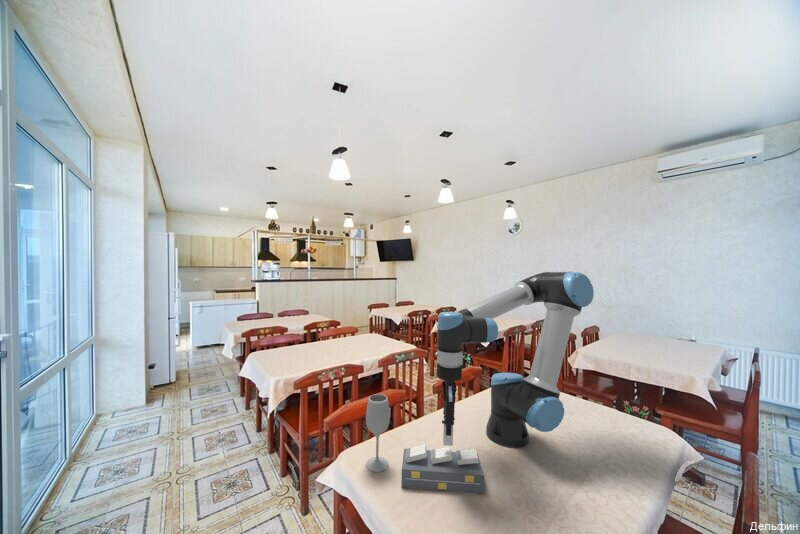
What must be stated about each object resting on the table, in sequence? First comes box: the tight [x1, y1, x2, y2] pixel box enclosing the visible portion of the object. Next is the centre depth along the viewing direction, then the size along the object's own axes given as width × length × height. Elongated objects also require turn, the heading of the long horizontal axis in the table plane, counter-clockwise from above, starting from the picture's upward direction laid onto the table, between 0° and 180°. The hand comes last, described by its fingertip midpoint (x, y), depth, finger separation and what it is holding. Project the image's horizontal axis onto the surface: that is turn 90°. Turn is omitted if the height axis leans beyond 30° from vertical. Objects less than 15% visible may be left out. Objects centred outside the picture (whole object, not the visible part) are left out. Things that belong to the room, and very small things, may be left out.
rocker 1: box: [406, 444, 428, 463], centre depth 89 cm, size 6×4×2 cm
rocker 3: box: [455, 448, 479, 465], centre depth 88 cm, size 6×4×2 cm
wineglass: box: [365, 393, 391, 473], centre depth 94 cm, size 8×8×21 cm
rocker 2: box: [430, 446, 452, 464], centre depth 88 cm, size 6×4×2 cm
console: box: [400, 448, 485, 494], centre depth 88 cm, size 23×10×5 cm, turn 85°
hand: (447, 444), depth 88 cm, fingers closed
